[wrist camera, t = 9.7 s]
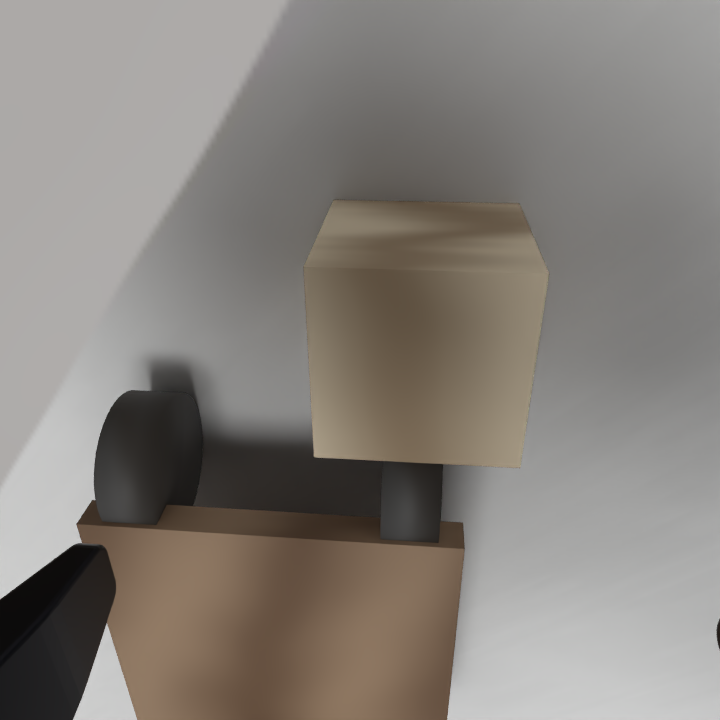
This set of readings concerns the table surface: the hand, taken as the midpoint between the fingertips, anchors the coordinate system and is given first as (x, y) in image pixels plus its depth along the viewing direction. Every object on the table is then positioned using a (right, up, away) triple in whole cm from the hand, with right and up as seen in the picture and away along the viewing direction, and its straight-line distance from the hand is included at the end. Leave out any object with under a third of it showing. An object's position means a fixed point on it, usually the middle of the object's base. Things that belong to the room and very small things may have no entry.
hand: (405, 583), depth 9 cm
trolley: (-3, -5, +15) cm, 16 cm away
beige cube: (+1, +5, +9) cm, 11 cm away
